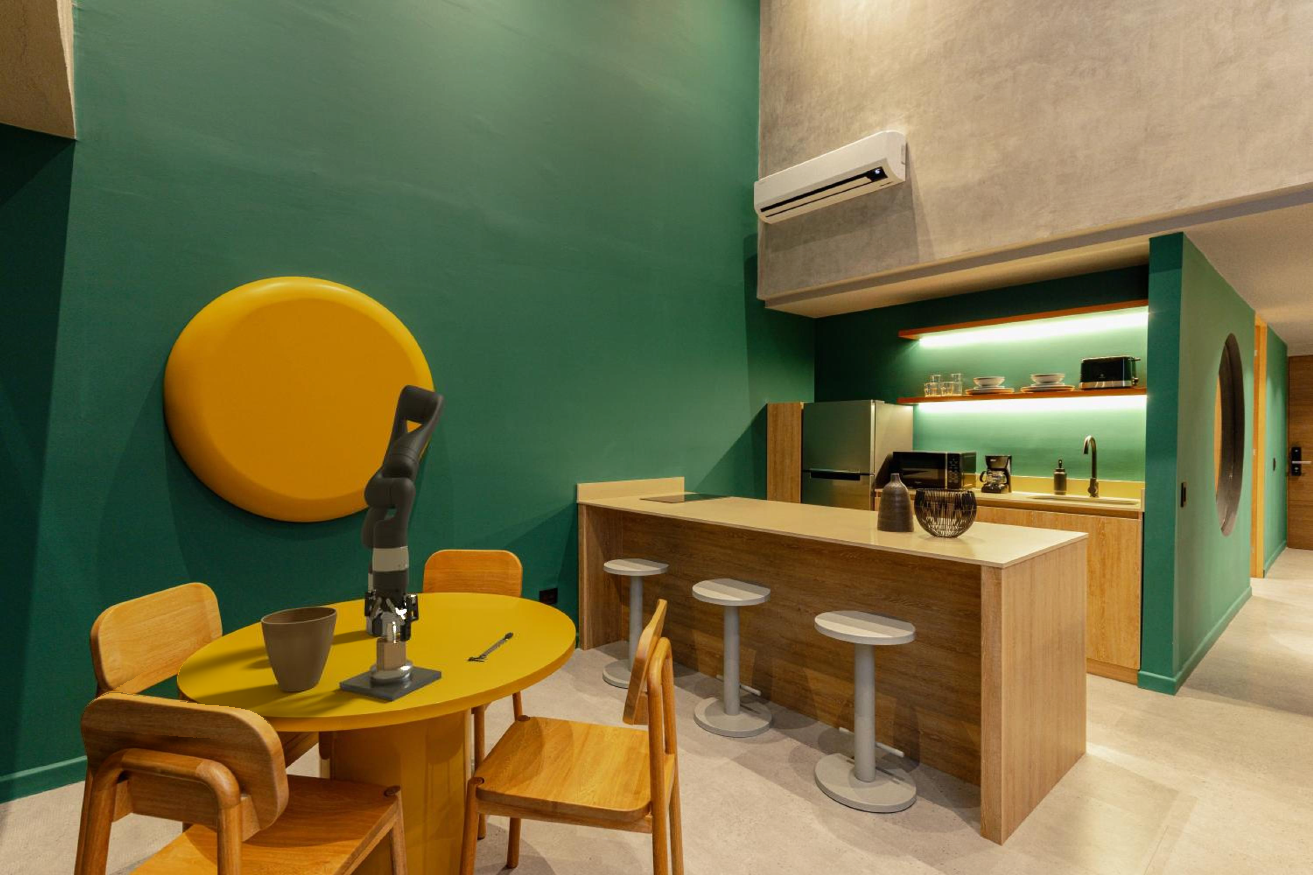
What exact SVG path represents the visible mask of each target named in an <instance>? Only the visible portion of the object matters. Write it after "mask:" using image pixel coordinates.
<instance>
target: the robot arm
mask: <svg viewBox="0 0 1313 875" xmlns="http://www.w3.org/2000/svg"><path fill="white" fill-rule="evenodd" d="M444 404H445V398H444V396H443V395H442V394H441V393H439V392H436V391H433V390H429V389H426V388H423V387H418V386H416V385H412V384H407V385H405V386H403V388H402V390H401V391H400V394H399V396H398V398H397V404H396V407H395V413H394V418H393V423H392V428H391V432H390V437H389V440H388V444H387V447H386V449H385V450H386V451H385V453H384V457H383V460H382V464H381V466H380V467H379V469H377V470H376V472H375V473H374V474H373V475H371V477H370V478H369V479H368V482H367V483H366V485H365V488H364V491H363V497H364V498H363V499H364V503H365V504H366V505H367V506H368V507H369V508H368V510H367V513H366V515H365V517H364V520H363V524H362V528H361V532H360V533H361V535H360V538H361V543H362V545H363V547H364V548H366V549H368V550H373V551H372V560H371V561H370V562H369V564H368V567H367V571H368V572H367V573H368V583H367V584H368V585H367V586H368V589H367V590H365V591H364V608H363V611H364V612H363V615H364V617H365V618H366V619H365V623H366V624H365V626H366V628H365V630H366V631H365V632H366V633H368V634H369V635H370V636H372V637H373V638H377V637H384V636H386V625H387V623H388V622H389V621H394V622H395V623H396V634H399V635H400V641H401V642H405V641H406V642H408V641H410V640H411V638H412V623H414V622H417V621H419V618H420V613H419V612H420V610H419V595H418V593H412V594H408V592H407V587H408V586H409V585H410V582H409V581H410V574H409V572H410V566H409V565H410V563H409V562H410V561H409V557H410V556H409V549H408V527H409V520H410V516H411V512H412V507H413V505H414V503H415V499H416V487H415V486H416V485H415V482H416V481H415V480H416V479H417V478H416V477H417V473H418V472H419V471H418V470H419V466H420V465H419V464H420V463H419V461H420V459H421V457H422V454H423V452H424V449H425V447H426V445H427V444H428V442H429V440H430V438H431V436H433V435H432V434H433V433H434V431H435V429H436V427H437V425H438V423H439V422H440V418H441V415H442V413H443V408H444ZM408 422H412V423H415V424H418V425H419V426H417V427H416V428H415V429H413V430H411V431H409V430H408ZM391 510H395V512H394V514H392V515H389V512H390V511H391Z"/></svg>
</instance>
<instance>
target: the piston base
mask: <svg viewBox="0 0 1313 875" xmlns="http://www.w3.org/2000/svg"><path fill="white" fill-rule="evenodd" d="M396 635H397V633H396V623H395V622H394V621H389V622H388V623H387V625H386V635H385V636H386V641H387V642H388V641H395V640H396ZM442 673H443V672H442V671H441V670H436V669H430V668H427V667H426V668H424V667H420V666H415V665H414V662H413V660H411V659H407V658H406V666H404V667H401V668H399V669H395V670H387V671H383V670H378V669H377V663H373V664H372V665H371V666H370V667H369V670H366V671H363V672H362V673H360V674H356V675H355V676H352V677H349V678H347V679H345V680H342V681H340V682H339V685H338V686H339V690H341V691H346V692H350V693H355V694H359V695H363V696H368V697H372V698H377V699H381V700H384V701H385V700H387V701H390V702H394V701H396V700H398V699H401V698H403V697H404V696H407V695H408V694H411V693H413V692H416V691H417V690H419V689H421V688H424V687H425V686H428V685H429V684H432V683H434V682H436V681H439V680H441V679H442V677H443V676H442Z"/></svg>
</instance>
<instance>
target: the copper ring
mask: <svg viewBox="0 0 1313 875" xmlns="http://www.w3.org/2000/svg"><path fill="white" fill-rule="evenodd" d="M375 644H376V647H375V649H376V652H375V653H376V663H377V669H378V670H383V671H387V670H395V669H399V668H401V667H404V666H406V659H407V641H405V642H401V641H400V633H396V640H395V641H388V642H387V641H386V635H383V636H380V637H379V638H377V639H376V643H375ZM376 663H375V664H376Z"/></svg>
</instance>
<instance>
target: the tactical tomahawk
mask: <svg viewBox="0 0 1313 875" xmlns="http://www.w3.org/2000/svg"><path fill="white" fill-rule="evenodd" d="M511 637H514V632H512V631H510V632H507V633H506V634H505V635H504V637H503V638H502V639H500V640H498V641H497V642H496V643H495V644H493V645H491V646H490V647H489V648H488V649H486V650H485V651H483V652H482V653H481V654H480V655H479V656H478V657H476V656H475V657H473V656H471V657H469V658H468V661H469V662H480V663H485V662H486V661H485V659H486V660H489V658H487V656H488V655H489V654H491V653H492V652H493V651H495V650H496V649H498V648H499V647H501V646H502V645H504V644H505V643H506V642H507V641H506V639H509V640H510V639H511ZM504 642H505V643H504ZM501 644H502V645H501ZM500 645H501V646H500ZM497 647H498V648H497Z"/></svg>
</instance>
